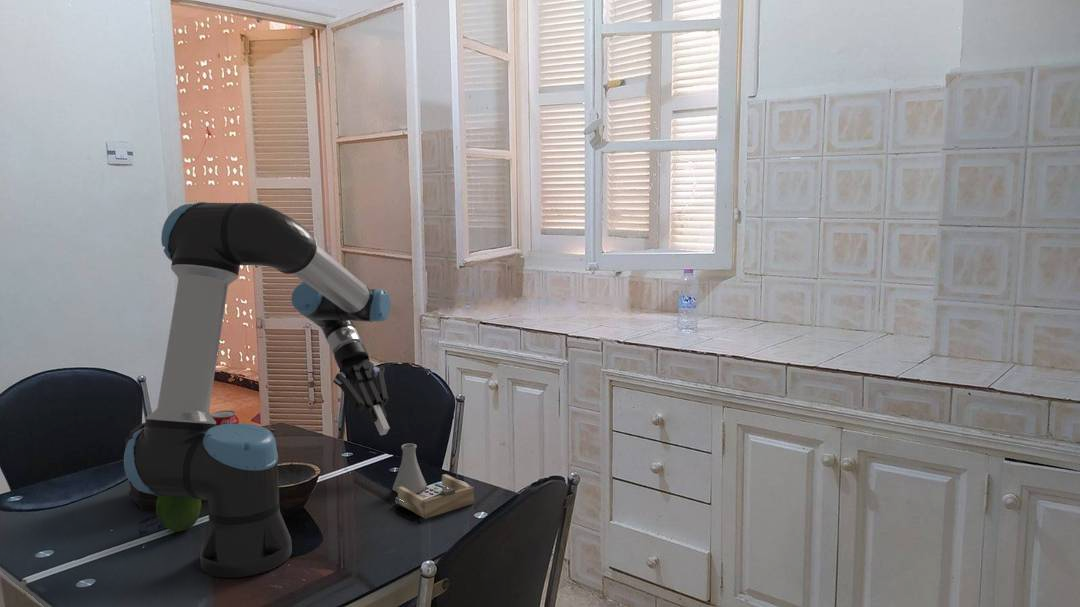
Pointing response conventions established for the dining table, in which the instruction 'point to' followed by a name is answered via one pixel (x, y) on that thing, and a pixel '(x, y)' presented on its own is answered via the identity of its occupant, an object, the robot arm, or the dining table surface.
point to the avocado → (177, 512)
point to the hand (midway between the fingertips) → (384, 431)
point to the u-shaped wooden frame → (438, 498)
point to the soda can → (225, 417)
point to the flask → (409, 471)
